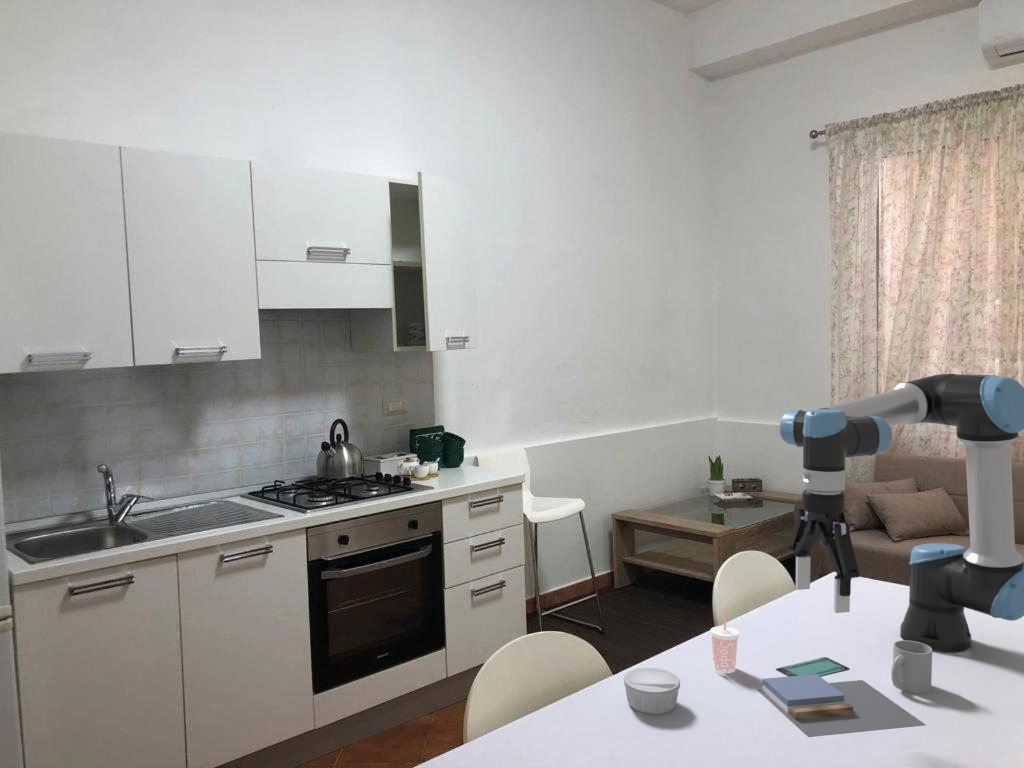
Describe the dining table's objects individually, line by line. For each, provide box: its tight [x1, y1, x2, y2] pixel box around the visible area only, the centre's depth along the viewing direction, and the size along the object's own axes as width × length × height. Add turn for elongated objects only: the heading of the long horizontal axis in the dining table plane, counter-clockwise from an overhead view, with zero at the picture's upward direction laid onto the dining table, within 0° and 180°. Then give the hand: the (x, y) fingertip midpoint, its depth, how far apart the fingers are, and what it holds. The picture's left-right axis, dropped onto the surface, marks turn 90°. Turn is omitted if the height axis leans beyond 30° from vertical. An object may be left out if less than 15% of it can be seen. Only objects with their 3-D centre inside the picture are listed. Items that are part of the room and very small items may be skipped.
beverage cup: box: [710, 607, 740, 676], centre depth 179 cm, size 6×6×14 cm
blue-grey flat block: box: [762, 674, 844, 713], centre depth 164 cm, size 12×2×10 cm
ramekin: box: [623, 667, 681, 715], centre depth 164 cm, size 11×11×5 cm
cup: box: [890, 639, 933, 695], centre depth 169 cm, size 7×10×9 cm
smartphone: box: [775, 656, 850, 678], centre depth 179 cm, size 7×1×15 cm
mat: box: [756, 679, 927, 738], centre depth 161 cm, size 24×20×1 cm
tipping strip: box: [791, 704, 853, 720], centre depth 157 cm, size 12×2×2 cm, turn 100°
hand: (821, 600), depth 158 cm, fingers open, 13 cm apart
